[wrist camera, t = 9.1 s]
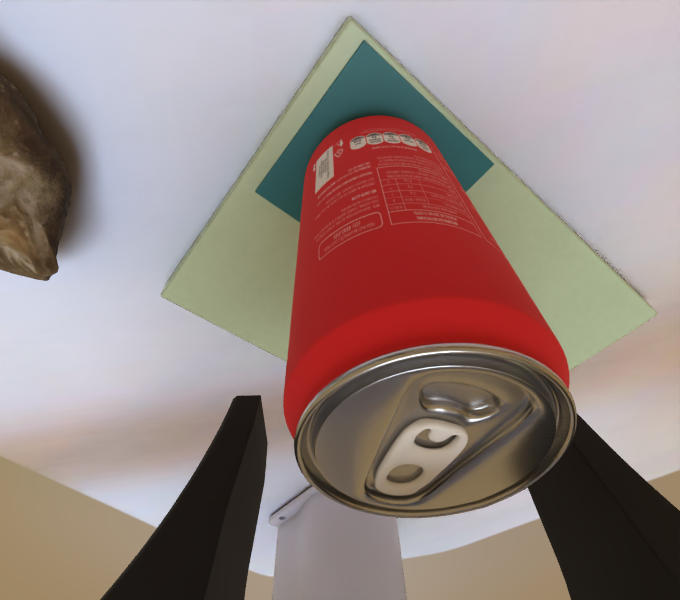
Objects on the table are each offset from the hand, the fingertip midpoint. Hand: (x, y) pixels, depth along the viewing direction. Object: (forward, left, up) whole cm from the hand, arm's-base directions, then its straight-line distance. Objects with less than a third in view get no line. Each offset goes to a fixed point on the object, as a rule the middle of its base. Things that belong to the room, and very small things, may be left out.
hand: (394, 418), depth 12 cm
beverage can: (+3, +2, -9) cm, 10 cm away
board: (-1, -4, -10) cm, 11 cm away
